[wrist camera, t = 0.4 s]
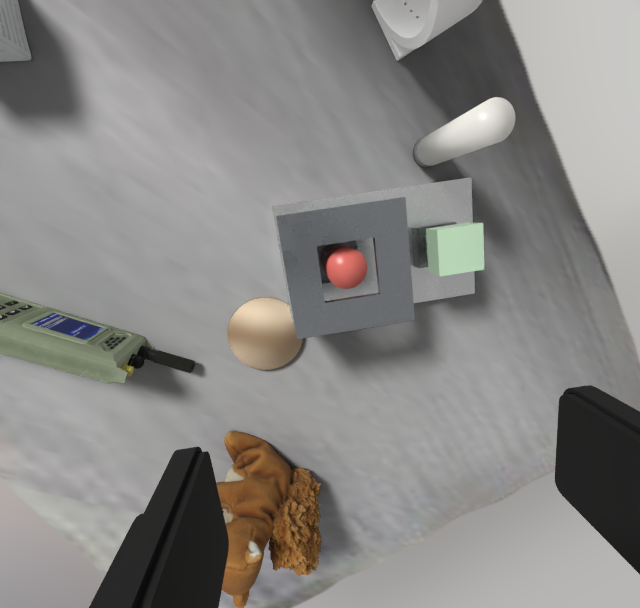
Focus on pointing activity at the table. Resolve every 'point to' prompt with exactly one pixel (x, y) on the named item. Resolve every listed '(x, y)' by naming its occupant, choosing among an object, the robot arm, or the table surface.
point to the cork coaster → (263, 334)
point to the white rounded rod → (467, 133)
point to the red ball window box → (369, 254)
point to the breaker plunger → (345, 266)
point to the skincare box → (12, 33)
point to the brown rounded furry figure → (266, 514)
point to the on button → (455, 248)
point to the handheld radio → (75, 343)
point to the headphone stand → (418, 20)
